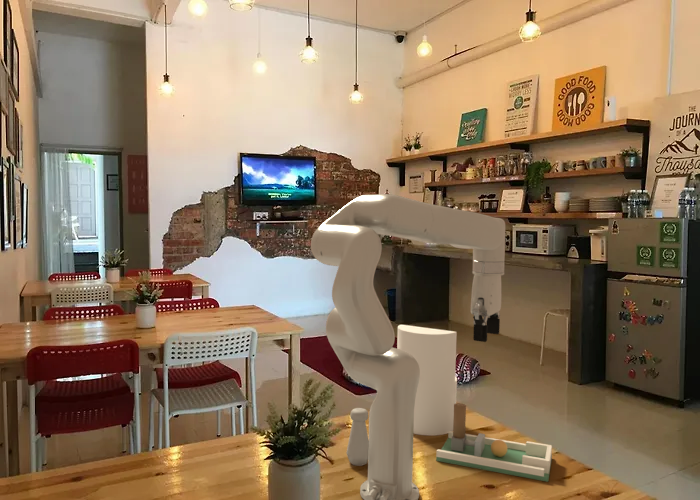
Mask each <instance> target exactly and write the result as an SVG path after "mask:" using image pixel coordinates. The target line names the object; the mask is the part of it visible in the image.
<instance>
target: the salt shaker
mask: <svg viewBox="0 0 700 500" xmlns="http://www.w3.org/2000/svg"><path fill="white" fill-rule="evenodd" d="M368 411H369V410H367V409H366V408H363V407H355V408H353V409H352V410H351V411H350V419H351V420H352V423H351V427H350V433H349V438H348V443H347V449H346V456H347V460H348V461H349V463H350V464H352V466H358V467H362V466H364V465H368V449H369V433H368V429H367V425H366V421H367V420H369V412H368Z"/></svg>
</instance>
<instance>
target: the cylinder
mask: <svg viewBox="0 0 700 500" xmlns="http://www.w3.org/2000/svg"><path fill="white" fill-rule="evenodd" d="M457 334H458V333H457V331H453V330H446V329H439V328H430V327H422V326H415V325H408V324H399V325H398V326H397V339H396V340H397V343H396V345H397V346H396V347H397V348H396V349H400V350H402V351H405V352H407V353H409V354H410V355H412V356H413V357H414V358H415V359H416V361H417V362H418V364H419V368H420V379H419V384H418V388H417V392H416V397H415V406H414V432H413V435H419V436H441V435H442V436H443V435H446V434H448V433H449V431H452V432H453V420H454V404H457V393H458V392H457V389H458V388H457V386H458V378H457V376H456V369H457V368H456V367H457V364H456V363H457V361H456V360H457V337H458V336H457Z"/></svg>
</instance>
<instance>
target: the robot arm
mask: <svg viewBox="0 0 700 500" xmlns="http://www.w3.org/2000/svg"><path fill="white" fill-rule="evenodd" d="M379 235H382V236H389V237H395V238H401V239H406V240H410V241H417V242H420V243H426V244H435V245H450V246H451V247H454V248H457V249H465V250H466V249H467V250H472V275H473V279H472V285H471V286H472V287H471V297H470V298H471V300H470V313H471V315H473V317H472V318H473V337H472V338H473V341H475V342H480V343H481V342H482V343H483V342H484V343H486V342H487V341H488V334H491V335H499V334H500V327H501V325H500V324H501V322H500V318H501V313H500V311H501V308H502V276H504V275H505V252H506V251H505V249H506V222H505V220H504V219H503V218H500V217H493V216H490V215H486V214H483V213H480V212H474V211H468V210H462V209H457V208H452V207H448V206H443V205H437V204H432V203H428V202H423V201H421V200H420V201H419V200H417V199H412V198H408V197H405V196H400V195H396V194H389V193H381V194H380V193H379V194H377V193H376V194H362V195H360V196H357V197H355V198H354V199H353V200H351V201H350V202H348V203H347V204H346V205H344V206H343V207H342V208H341V209H339V210H338V211H336V213H334V214H333V215H331V217H329V218H328V219H326V220H325V221H324V222H322V224H320V225H319V226H318V228H316V229H315V231H314V233H313V235H312V237H311V241H310V249H311V251H310V252H311V253H312V256H313V257H314V258H315V259H316V260H317V262H319V263H321V264H322V265H323V264H324V265H327V266H333V267H338V268H337V272H336V274H335V277H334V281H333V285H332V290H331V297H332V298H331V299H332V302H333V304H334V307H333V309H331V311H330V313H329V314H328V316H327V318H326V323H325V333H326V338H327V339H328V342H329V344H330V346H331V348H332V349H333V351H334V354H335V355H336V357H337V358H338V360H339V361H340V364H341V365H342V367H343V369H344V370H345V371H346V373H347V375H348V376H349V378H351V379H352V380H354V381H355V382H356V383H358V384H361V385H363V386H366V387H369V388H371V389H373V390H376V396H375V398H374V400H373V401H372V403H371V405H370V408H369V412H368V440H369V449H368V461H367V479H366V480H364V482H363V483H362V484H361V485H360V487H359V490H360V491H359V493H360V496H361V498H362V499H363V500H419V497H420V489H419V488H418V486H417V485H416V484H415V483H414V482H413V468H414V467H413V466H414V465H413V463H414V434H413V432H414V406H415V397H416V392H417V388H418V384H419V379H420V368H419V364H418V362H417V361H416V359H415V358H414V357H413V356H412V355H410V354H409V353H407V352H405V351H402V350H400V349H397V348H396V347H393V346H394V344H395V341H396V340H395V339H396V337H395V331H394V327H393V325H392V323H391V320H390V319H389V316H388V315H387V312H386V310H385V309H384V307H383V305H382V303H381V302H380V299H379V297H378V295H377V292H376V290H375V287H374V277H375V273H376V270H377V267H378V264H379V261H380V258H381V254H382V249H383V247H382V241H381V237H380V236H379Z"/></svg>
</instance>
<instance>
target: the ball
mask: <svg viewBox="0 0 700 500" xmlns="http://www.w3.org/2000/svg"><path fill="white" fill-rule="evenodd" d="M502 440H503V439H500V440H495V441H494V442H493V443H492V444H491V451H492V453H493V454H494V455H495V456H498V457H502V456H504V455H505V454H506V453H507V450H508V448H507V445H506V443H505V442H504V441H502Z"/></svg>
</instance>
